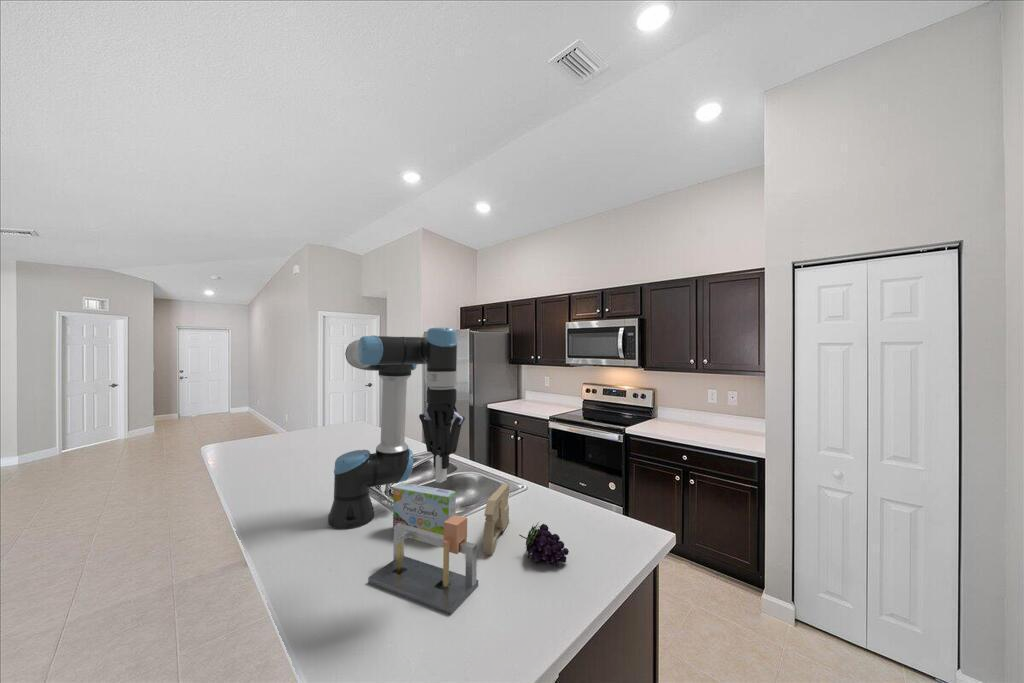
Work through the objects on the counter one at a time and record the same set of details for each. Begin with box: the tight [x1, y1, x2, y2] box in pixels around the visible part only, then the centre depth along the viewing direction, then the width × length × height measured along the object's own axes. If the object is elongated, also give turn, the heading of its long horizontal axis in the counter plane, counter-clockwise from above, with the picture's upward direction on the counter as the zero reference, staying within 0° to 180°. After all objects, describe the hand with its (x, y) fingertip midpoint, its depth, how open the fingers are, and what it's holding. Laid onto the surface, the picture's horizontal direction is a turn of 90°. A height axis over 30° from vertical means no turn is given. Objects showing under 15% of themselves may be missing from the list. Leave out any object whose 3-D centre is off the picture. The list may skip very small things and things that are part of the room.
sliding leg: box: [442, 515, 468, 587], centre depth 97 cm, size 4×7×15 cm, turn 154°
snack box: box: [392, 482, 457, 535], centre depth 124 cm, size 21×6×15 cm, turn 70°
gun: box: [482, 483, 510, 556], centre depth 123 cm, size 24×3×15 cm, turn 168°
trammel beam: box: [392, 523, 478, 586], centre depth 99 cm, size 26×6×11 cm, turn 64°
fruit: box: [518, 521, 570, 566], centre depth 110 cm, size 10×11×15 cm
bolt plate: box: [367, 555, 479, 616], centre depth 97 cm, size 26×12×2 cm, turn 64°
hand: (441, 480), depth 96 cm, fingers closed
